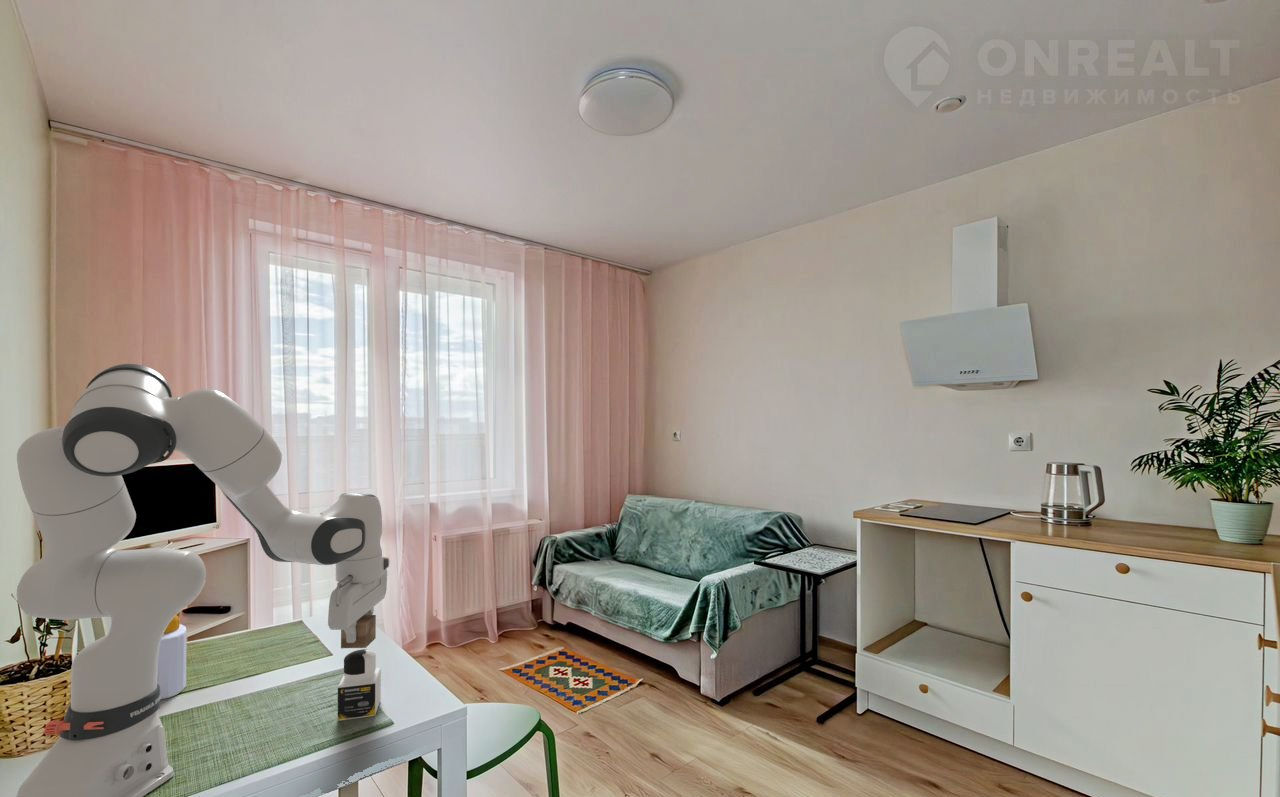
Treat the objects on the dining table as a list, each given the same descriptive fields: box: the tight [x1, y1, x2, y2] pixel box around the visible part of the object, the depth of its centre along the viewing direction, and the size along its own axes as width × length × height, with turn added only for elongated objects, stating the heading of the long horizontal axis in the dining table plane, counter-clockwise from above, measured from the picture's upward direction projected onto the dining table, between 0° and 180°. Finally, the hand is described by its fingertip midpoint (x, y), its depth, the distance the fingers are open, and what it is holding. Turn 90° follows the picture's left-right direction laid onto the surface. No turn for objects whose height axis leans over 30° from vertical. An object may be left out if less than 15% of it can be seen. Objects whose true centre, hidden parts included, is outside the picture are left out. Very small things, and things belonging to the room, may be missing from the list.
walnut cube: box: [340, 614, 377, 649], centre depth 123 cm, size 5×5×5 cm
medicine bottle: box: [337, 648, 382, 722], centre depth 123 cm, size 7×7×12 cm
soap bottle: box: [157, 614, 188, 701], centre depth 133 cm, size 13×8×20 cm, turn 46°
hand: (359, 635), depth 123 cm, fingers closed on walnut cube, 5 cm apart
